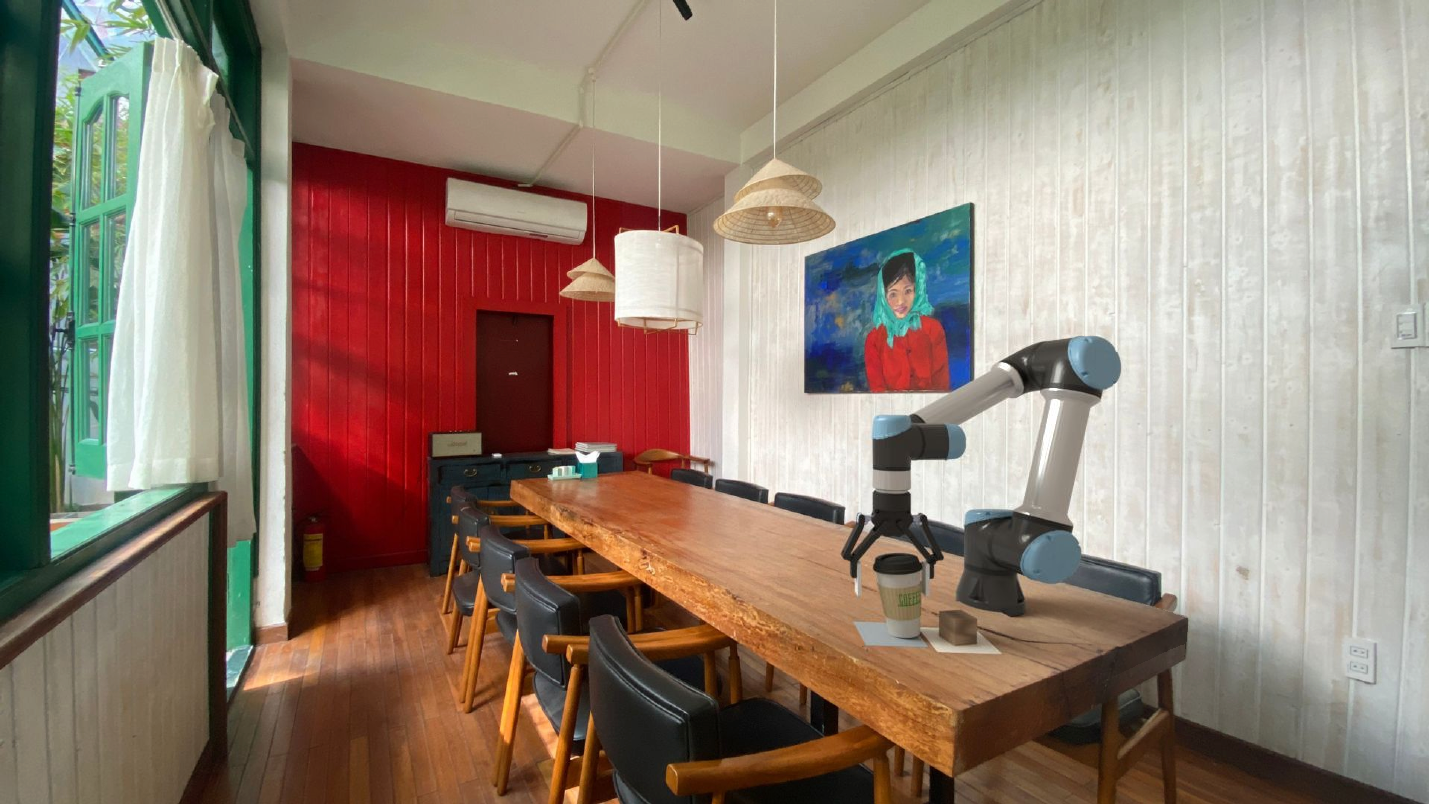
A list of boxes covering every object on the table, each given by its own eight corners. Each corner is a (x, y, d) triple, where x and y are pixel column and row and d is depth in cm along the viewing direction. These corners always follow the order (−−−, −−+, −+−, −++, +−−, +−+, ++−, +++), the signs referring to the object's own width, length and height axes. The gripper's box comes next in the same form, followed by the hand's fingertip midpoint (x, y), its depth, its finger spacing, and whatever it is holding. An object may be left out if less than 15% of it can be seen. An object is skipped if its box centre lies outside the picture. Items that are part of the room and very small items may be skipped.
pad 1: (909, 628, 122) (909, 623, 122) (928, 652, 110) (928, 647, 110) (853, 626, 122) (853, 621, 122) (866, 650, 110) (866, 645, 110)
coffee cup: (932, 641, 110) (924, 564, 110) (880, 641, 112) (871, 565, 113) (927, 622, 119) (919, 551, 120) (879, 622, 122) (871, 552, 122)
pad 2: (975, 633, 119) (975, 629, 119) (1002, 659, 107) (1002, 654, 107) (917, 631, 120) (917, 627, 120) (937, 657, 108) (937, 651, 108)
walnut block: (960, 634, 116) (960, 609, 116) (976, 644, 111) (977, 618, 112) (938, 635, 115) (939, 611, 115) (954, 646, 110) (954, 620, 110)
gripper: (946, 487, 119) (946, 588, 119) (827, 487, 120) (827, 587, 120) (960, 493, 112) (961, 601, 112) (833, 492, 113) (833, 599, 113)
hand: (891, 594), depth 116 cm, fingers open, 13 cm apart
